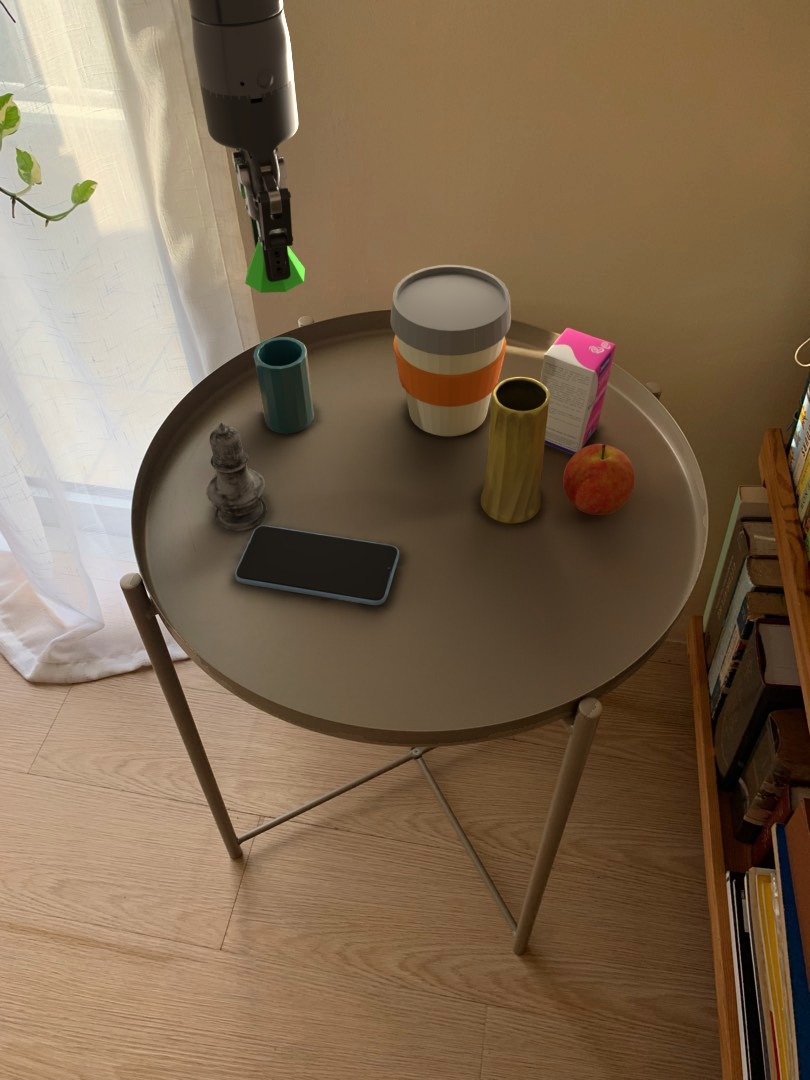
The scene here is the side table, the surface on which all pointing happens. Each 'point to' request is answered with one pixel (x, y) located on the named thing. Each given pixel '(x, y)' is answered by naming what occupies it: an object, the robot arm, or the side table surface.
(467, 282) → the reusable coffee cup
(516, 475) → the vase
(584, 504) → the fruit
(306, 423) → the teal cup
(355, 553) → the smartphone
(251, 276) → the gemstone
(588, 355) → the supplement box
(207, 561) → the side table surface
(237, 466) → the chess piece
